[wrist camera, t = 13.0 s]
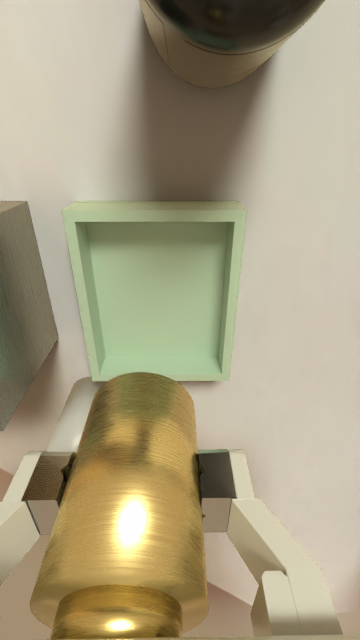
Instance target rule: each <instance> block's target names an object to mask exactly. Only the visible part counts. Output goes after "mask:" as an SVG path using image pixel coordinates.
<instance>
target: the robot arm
mask: <svg viewBox="0 0 360 640" xmlns="http://www.w3.org/2000/svg"><path fill="white" fill-rule="evenodd" d="M75 455H76V452H44V451H38V452H27V453H26V454H25V455H24V457H23V459H22V461H21V463H20V465H19V467H18V469H17V471H16V473H15V475H14V478H13V480H12V482H11V484H10V486H9V488H8V490H7V492H6V495H5V497H4V499H3V501H2V502H0V586H1V584H2V583H3V582H4V581H5V579H6V578H7V577H8V576H9V574H10V573H11V572H12V571H13V569H14V568H15V567H16V566H17V565H18V563H19V562H20V561H21V560H22V558H23V557H24V556H25V555H26V554H27V552H28V551H29V550H30V549H31V547H32V546H33V545H34V544H35V542H36V541H37V540H38V539H39V537H40V535H48V534H51V532H52V529H53V526H54V523H55V520H56V516H57V513H58V510H59V507H60V504H61V500H62V497H63V494H64V491H65V487H66V484H67V481H68V478H69V475H70V471H71V468H72V465H73V462H74V459H75ZM198 470H199V480H200V498H201V509H202V523H203V532H227V535H228V536H229V538H230V540H231V541H232V543H233V544H234V546H235V548H236V549H237V551H238V552H239V554H240V556H241V557H242V559H243V560H244V562H245V564H246V565H247V567H248V568H249V570H250V572H251V573H252V575H253V576H254V578H255V579H256V581H257V583H258V584H259V587H258V590H257V594H256V597H255V600H254V604H253V607H252V610H251V621H252V627H253V634H254V636H230V637H229V636H228V637H227V636H225V637H167V638H110V639H53V640H360V634H345V635H344V634H343V633H342V630H341V627H340V624H339V621H338V618H337V615H336V612H335V609H334V606H333V603H332V600H331V597H330V594H329V591H328V588H327V585H326V583H325V580H324V577H323V574H322V571H321V568H320V567H319V566H318V565H317V564H316V563H315V562H314V560H313V559H312V558H311V557H310V556H309V555H308V553H307V552H306V551H305V550H304V549H303V548H302V547H301V545H300V544H299V543H298V542H297V541H296V540H295V539H294V537H293V536H292V535H291V534H290V533H289V532H288V530H287V529H286V528H285V527H284V526H283V525H282V524H281V522H280V521H279V520H278V519H277V518H276V517H275V516H274V514H273V513H272V512H271V511H270V510H269V509H268V507H267V506H266V505H265V504H264V503H263V502H262V501H261V499H257V498H255V496H254V491H253V487H252V482H251V478H250V473H249V469H248V465H247V460H246V456H245V452H244V450H243V449H236V450H227V449H216V450H198Z"/></svg>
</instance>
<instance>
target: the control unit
mask: <svg viewBox="0 0 360 640" xmlns="http://www.w3.org/2000/svg"><path fill="white" fill-rule="evenodd" d="M57 339H58V334H57V329H56V325H55V321H54V316H53V312H52V307H51V303H50V299H49V294H48V290H47V286H46V281H45V277H44V273H43V268H42V264H41V259H40V255H39V251H38V246H37V242H36V238H35V233H34V229H33V225H32V220H31V216H30V211H29V207H28V203H27V201H0V431H3V430H4V428H5V427H6V425H7V423H8V422H9V420H10V418H11V416H12V415H13V413H14V411H15V410H16V408H17V406H18V405H19V403H20V401H21V400H22V398H23V396H24V395H25V393H26V391H27V389H28V388H29V386H30V384H31V383H32V381H33V379H34V378H35V376H36V374H37V373H38V371H39V369H40V367H41V366H42V364H43V362H44V361H45V359H46V357H47V356H48V354H49V352H50V351H51V349H52V347H53V346H54V344H55V342H56V340H57Z"/></svg>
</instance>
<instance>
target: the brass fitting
mask: <svg viewBox="0 0 360 640" xmlns="http://www.w3.org/2000/svg"><path fill="white" fill-rule="evenodd" d="M30 609H31V612H32V613H33V615H34V616H35V617H36V618H37V619H38V620H39V621H40V622H41V623H43V624H45V625H46V626H48V627H50V628H52V631H51V636H50V639H49V640H53V639H110V638H167V637H183V636H182V635H183V634H182V633H184V632H186V631H188V630H190V629H192V628H194V627H196V626H197V625H199V624H200V623H201V622H202V621H203V620H204V619H205V617H206V616H207V614H208V596H207V580H206V566H205V551H204V537H203V523H202V509H201V498H200V480H199V470H198V452H197V437H196V423H195V409H194V403H193V400H192V398H191V396H190V394H189V393H188V392H187V391H186V389H185V388H184V387H183V386H181V385H180V384H179V383H177V382H176V381H174V380H172V379H170V378H168V377H166V376H163V375H159V374H155V373H149V372H132V373H126V374H123V375H119V376H117V377H114V378H112V379H110V380H109V381H107V382H106V383H104V384H103V385H102V386H101V387H100V388H99V389H98V391H97V392H96V393H95V395H94V398H93V401H92V404H91V407H90V410H89V413H88V417H87V420H86V423H85V426H84V430H83V433H82V436H81V439H80V442H79V446H78V449H77V452H76V455H75V459H74V462H73V465H72V468H71V471H70V475H69V478H68V481H67V484H66V487H65V491H64V494H63V497H62V500H61V504H60V507H59V510H58V513H57V516H56V520H55V523H54V526H53V529H52V532H51V536H50V539H49V542H48V545H47V549H46V552H45V555H44V559H43V561H42V565H41V568H40V572H39V575H38V577H37V581H36V584H35V587H34V590H33V594H32V597H31V600H30Z"/></svg>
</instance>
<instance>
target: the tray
mask: <svg viewBox="0 0 360 640" xmlns="http://www.w3.org/2000/svg"><path fill="white" fill-rule="evenodd" d="M246 213H247V210H246V209H245V208H244V207H243V206H242V205H241V204H240V203H239V202H238V201H76V202H74V203H72V204H71V205H69V206H68V207H66V208H65V209H63V210H62V215H63V221H64V226H65V232H66V237H67V243H68V248H69V254H70V260H71V265H72V271H73V276H74V282H75V287H76V293H77V299H78V304H79V310H80V315H81V321H82V326H83V332H84V338H85V343H86V349H87V354H88V360H89V365H90V371H91V376H92V381H109V380H110V379H112V378H114V377H117V376H119V375H123V374H126V373H132V372H149V373H155V374H159V375H163V376H166V377H168V378H170V379H172V380H174V381H229V378H230V368H231V359H232V349H233V339H234V330H235V320H236V310H237V301H238V291H239V281H240V271H241V262H242V252H243V242H244V233H245V223H246Z"/></svg>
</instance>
